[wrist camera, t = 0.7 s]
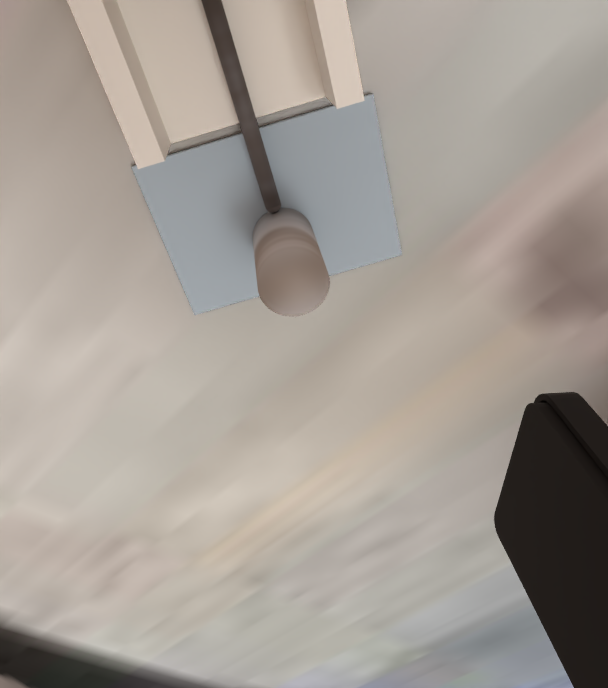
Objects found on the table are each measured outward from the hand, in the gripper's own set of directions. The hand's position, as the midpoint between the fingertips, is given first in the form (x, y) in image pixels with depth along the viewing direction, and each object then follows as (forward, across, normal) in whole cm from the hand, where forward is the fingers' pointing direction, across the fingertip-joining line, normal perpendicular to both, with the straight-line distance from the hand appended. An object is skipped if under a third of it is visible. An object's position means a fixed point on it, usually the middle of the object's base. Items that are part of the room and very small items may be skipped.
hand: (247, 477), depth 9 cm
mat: (+22, -2, +3) cm, 22 cm away
